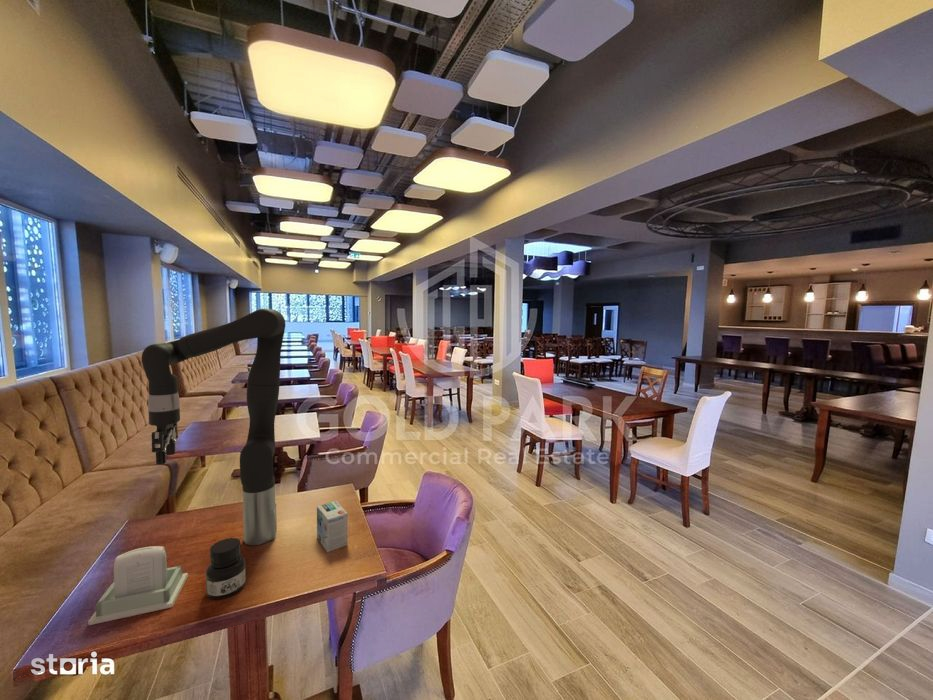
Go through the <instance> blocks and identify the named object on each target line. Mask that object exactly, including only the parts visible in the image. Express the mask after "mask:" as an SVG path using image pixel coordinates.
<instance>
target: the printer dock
mask: <svg viewBox="0 0 933 700" xmlns="http://www.w3.org/2000/svg"><path fill="white" fill-rule="evenodd" d="M188 577H189V573H188V572H185V573H183V565H179V566H173V567H167V586H166V587H165V589H160V590H155V591H150V592H145V593H140V594H135V595H130V596H125V597H120V598H115V596H114V581H113V582H112V583H111V584H110V586H109V587H108V588H107V590H105V592H104V593H103V595H102V596H101V597H100V599H98V601H97V603H96V604H95V605H94V606H95V611H94V613H93V614H92V616H91V617H90V618H89V620H88V622H87V624H88V626H92V625H96V624H102V623H105V622H111V621H114V620H118V619H119V620H120V619H124V618H130V617H133V616H137V615H138V616H139V615H143V614H146V613H151V612H156V611H159V610H160V611H161V610H165V609H170V608H173V607H174V606H175V605H174V604H175V603H176V600H177V599H178V597H179V595H180V592H181V591H182V589H183V587H184V585H185V583H186V580H187V579H188Z"/></svg>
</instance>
